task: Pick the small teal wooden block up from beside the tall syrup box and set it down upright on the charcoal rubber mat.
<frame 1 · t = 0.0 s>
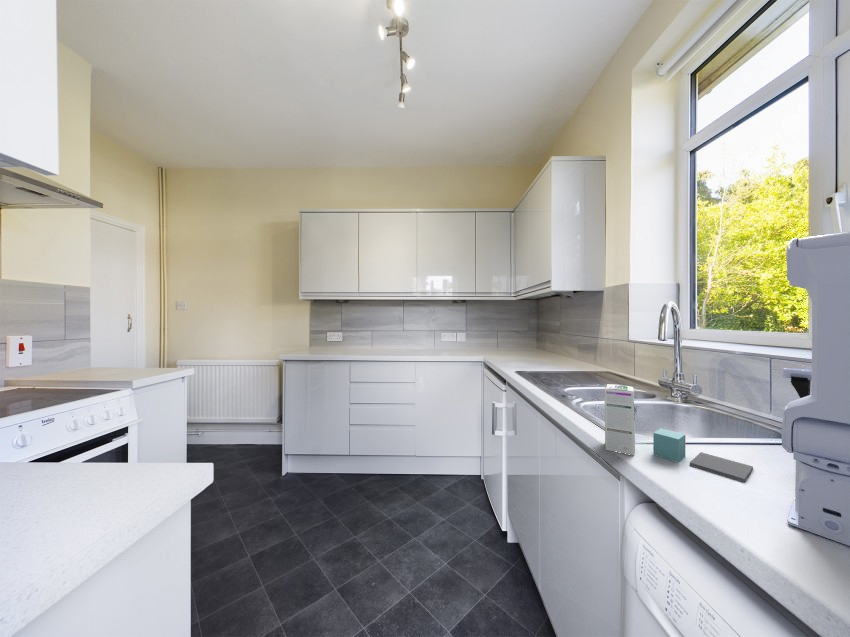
hand: (838, 419, 62), 10 cm above the countertop, tool pointing down, fingers open, 7 cm apart
syrup box: (619, 449, 72), on the countertop
teal block: (669, 455, 68), on the countertop
mat: (720, 467, 63), on the countertop
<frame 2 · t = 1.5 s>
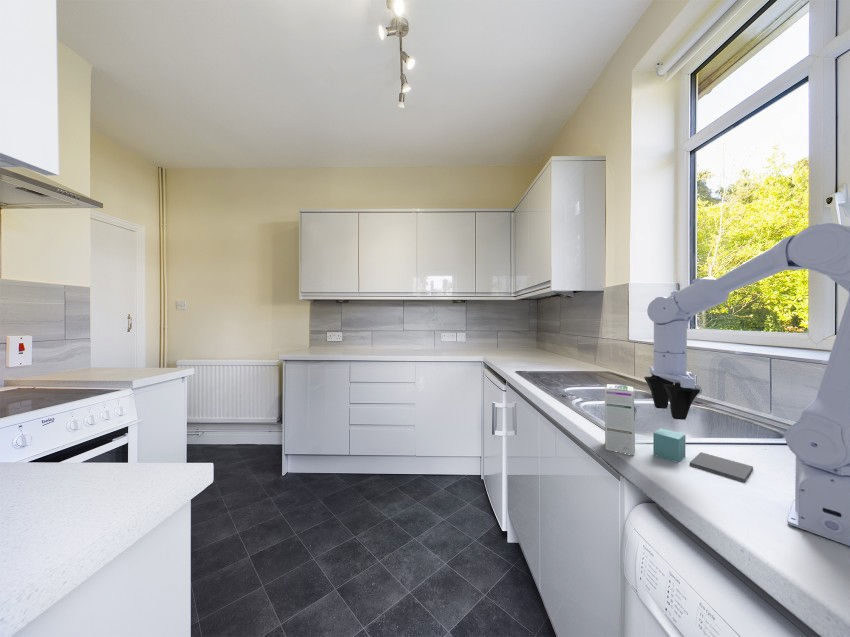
hand: (669, 413, 68), 9 cm above the countertop, tool pointing down, fingers open, 7 cm apart
nothing on the countertop moved.
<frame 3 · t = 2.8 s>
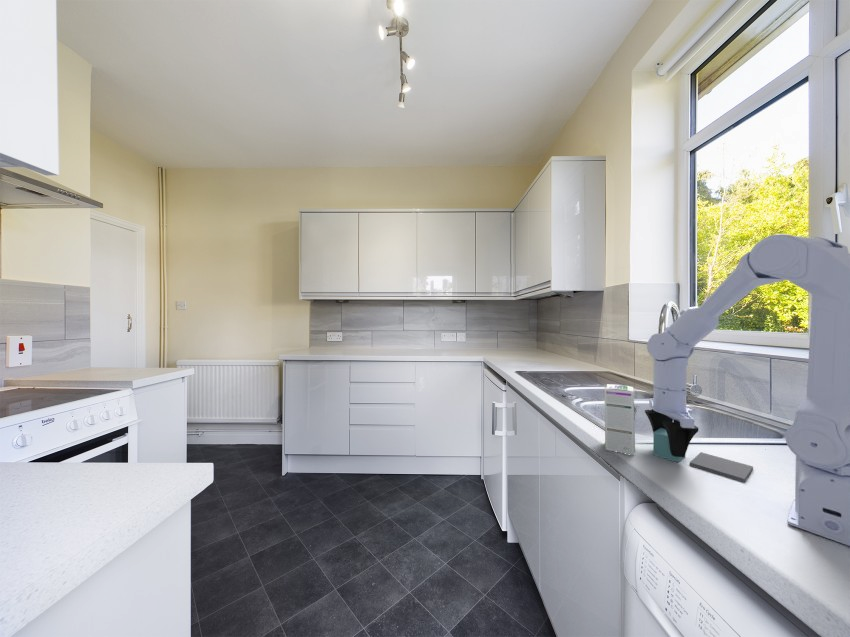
hand: (669, 449, 68), 1 cm above the countertop, tool pointing down, fingers closed on teal block, 6 cm apart
teal block: (669, 455, 68), on the countertop, touching gripper
everything else where it was.
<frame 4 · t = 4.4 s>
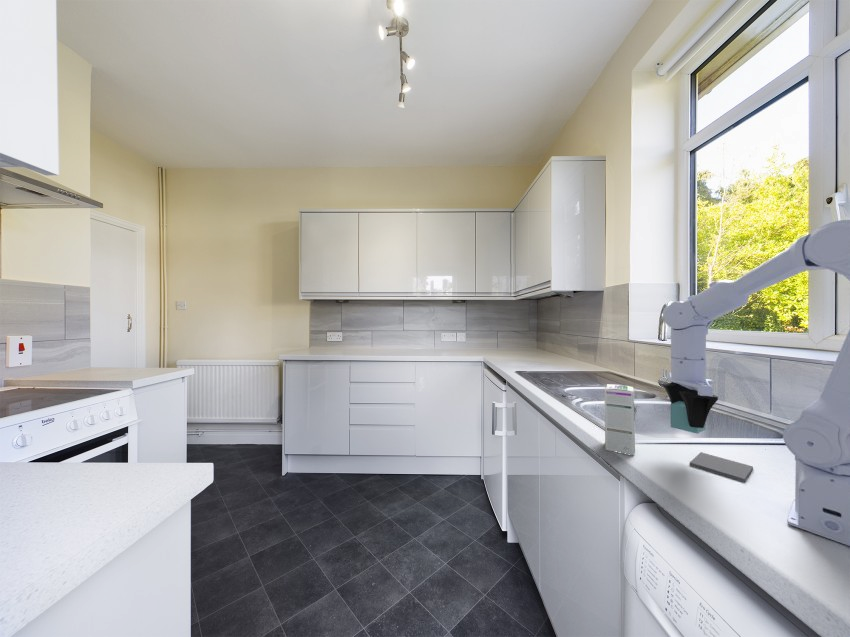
hand: (688, 421, 66), 8 cm above the countertop, tool pointing down, fingers closed on teal block, 6 cm apart
teal block: (687, 428, 66), point 7 cm above the countertop, touching gripper
everything else where it was.
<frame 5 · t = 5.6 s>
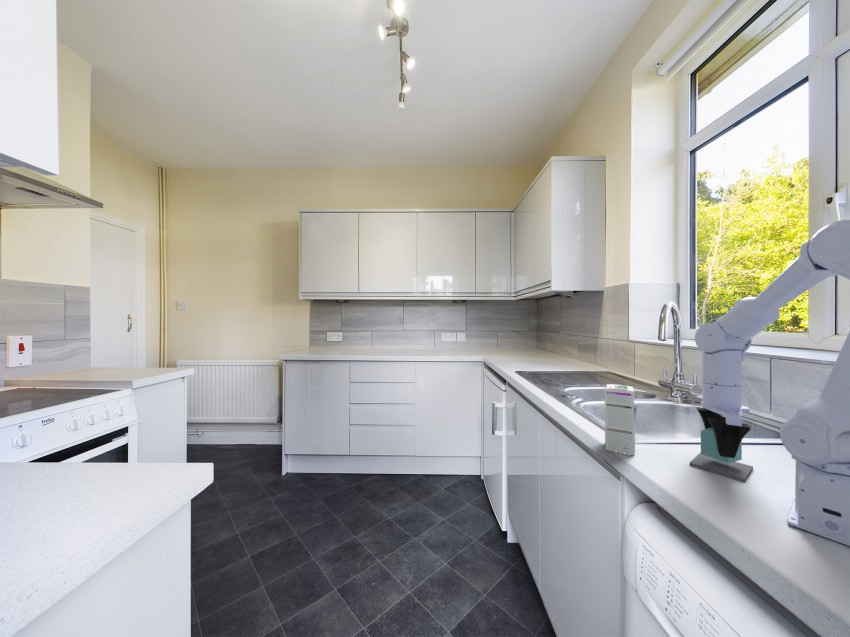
hand: (720, 449, 63), 4 cm above the countertop, tool pointing down, fingers closed on teal block, 6 cm apart
teal block: (720, 456, 63), point 2 cm above the countertop, touching gripper
everything else where it was.
when the fingers open (3 cm above the countertop, at t = 6.3 s): teal block drops 1 cm, resting on mat.
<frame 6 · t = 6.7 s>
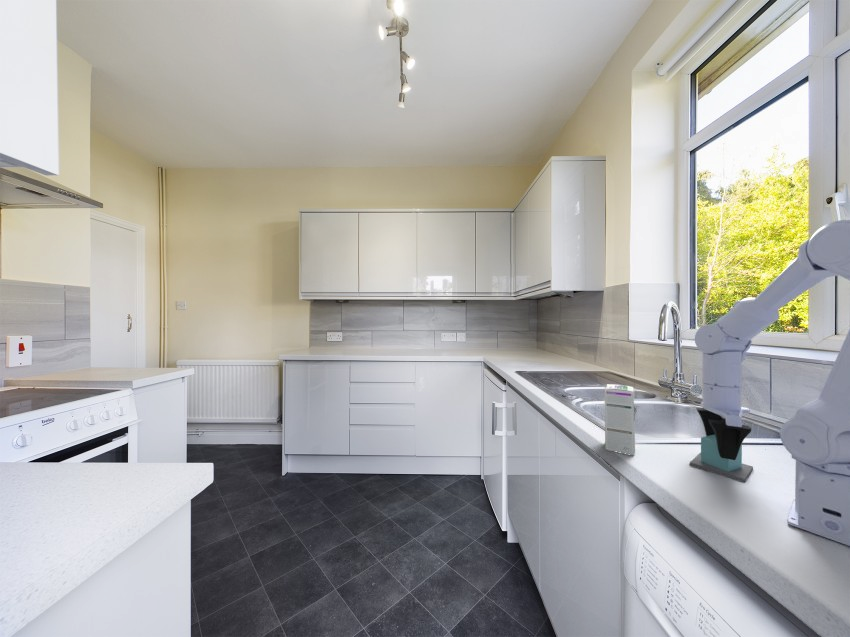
hand: (720, 450, 63), 3 cm above the countertop, tool pointing down, fingers open, 7 cm apart
teal block: (720, 464, 63), point 1 cm above the countertop, touching mat
everything else where it was.
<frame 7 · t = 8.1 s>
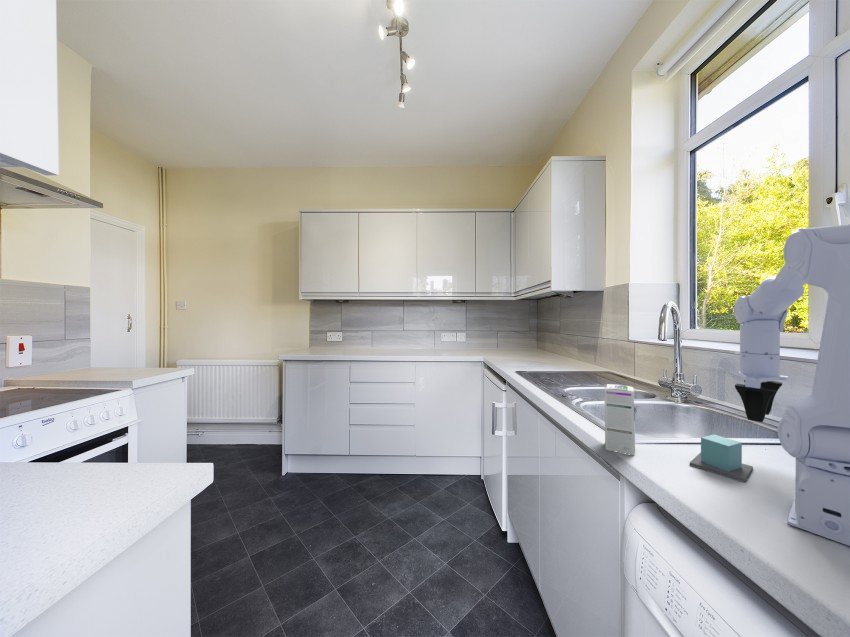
hand: (758, 417, 65), 9 cm above the countertop, tool pointing down, fingers open, 7 cm apart
nothing on the countertop moved.
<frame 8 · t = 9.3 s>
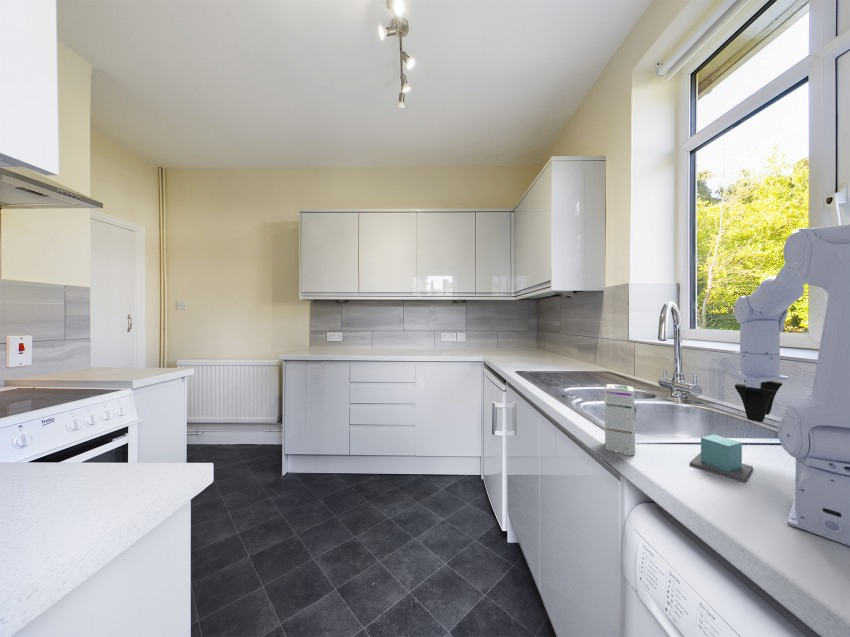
hand: (758, 417, 65), 9 cm above the countertop, tool pointing down, fingers open, 7 cm apart
nothing on the countertop moved.
at the end: teal block 0.0 cm off-centre on the mat, point 0.6 cm above the mat's base; teal block tilted 0°; the gripper is holding nothing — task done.
